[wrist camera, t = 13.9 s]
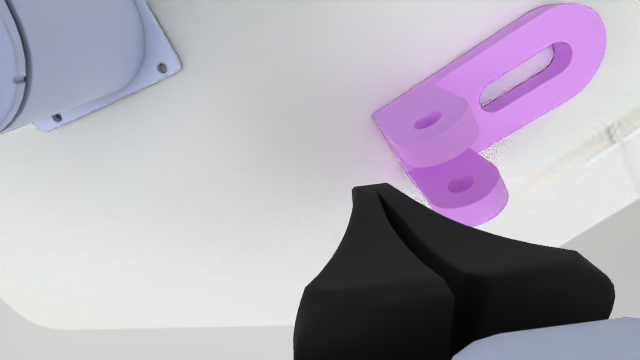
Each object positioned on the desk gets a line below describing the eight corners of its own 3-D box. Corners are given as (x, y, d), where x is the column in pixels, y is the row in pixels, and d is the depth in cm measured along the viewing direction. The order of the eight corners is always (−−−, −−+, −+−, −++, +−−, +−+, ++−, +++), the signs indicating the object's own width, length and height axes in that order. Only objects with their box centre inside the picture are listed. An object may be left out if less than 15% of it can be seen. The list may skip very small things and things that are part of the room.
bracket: (410, 179, 22) (454, 238, 16) (371, 114, 20) (405, 155, 14) (594, 69, 20) (730, 90, 14) (573, -18, 18) (724, -41, 11)
